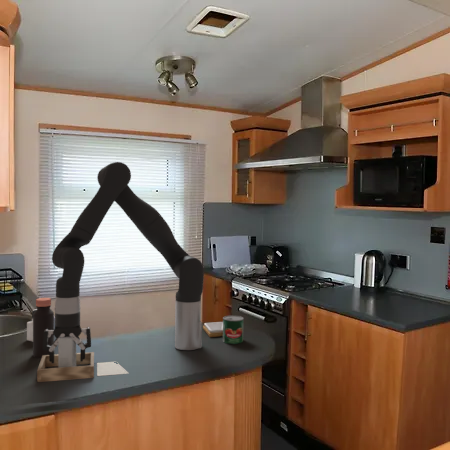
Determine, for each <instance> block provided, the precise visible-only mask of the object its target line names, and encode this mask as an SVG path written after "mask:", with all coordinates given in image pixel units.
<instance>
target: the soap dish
mask: <svg viewBox="0 0 450 450" xmlns="http://www.w3.org/2000/svg"><path fill="white" fill-rule="evenodd" d="M203 324H204V325H202V329H203V331H204V332H205V333H206V334H207V335H208V337H209V338H215V337H217V338H218V337H223V321H216V322H213V321H212V322H205V323H203Z"/></svg>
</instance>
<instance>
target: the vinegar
mask: <svg viewBox="0 0 450 450" xmlns="http://www.w3.org/2000/svg"><path fill="white" fill-rule="evenodd" d="M51 306H52V298H51V297H40V298H36V299H35V307H36V309H37V310H36V311H35V312H34V313H33V342H32V357H34V358H36V359H42V356H43V355H49V351H47V350H43V337H44V331H45V329H48V330H54V329H55V311H53V310H52V309H51ZM54 339H55V336H54V334H51V336H50V337H48V345H49V346H51V345H52V344H53V342H54V341H55V340H54Z"/></svg>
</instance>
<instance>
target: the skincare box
mask: <svg viewBox="0 0 450 450" xmlns="http://www.w3.org/2000/svg"><path fill="white" fill-rule="evenodd" d="M57 348H58V350H57V352H58V353H57V354H58V366H57V368H61V367H75V366H77V365H76V353H77V344H76V343H75V342H74V340H73V337H70V336H68V337H64V338H59V339H58V345H57Z"/></svg>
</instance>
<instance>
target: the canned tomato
mask: <svg viewBox="0 0 450 450" xmlns="http://www.w3.org/2000/svg"><path fill="white" fill-rule="evenodd" d="M244 319H245V318H244V317H243V316H241V315H225V316H223V317H222V322H223V336H222V342H223V343H224V344H227V345H228V344H229V345H238V344H241V343H243V342H244Z"/></svg>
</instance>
